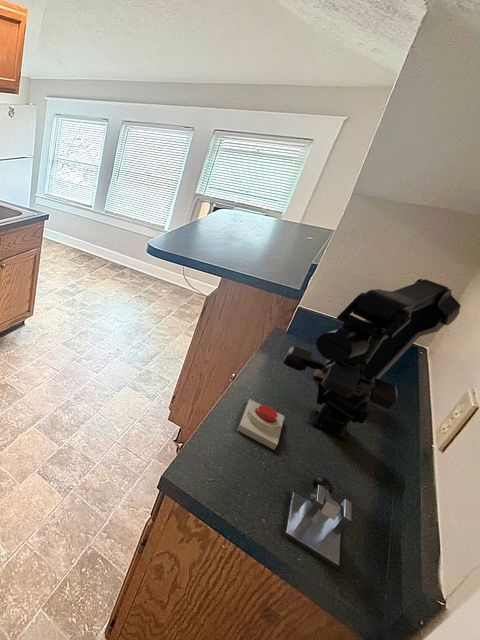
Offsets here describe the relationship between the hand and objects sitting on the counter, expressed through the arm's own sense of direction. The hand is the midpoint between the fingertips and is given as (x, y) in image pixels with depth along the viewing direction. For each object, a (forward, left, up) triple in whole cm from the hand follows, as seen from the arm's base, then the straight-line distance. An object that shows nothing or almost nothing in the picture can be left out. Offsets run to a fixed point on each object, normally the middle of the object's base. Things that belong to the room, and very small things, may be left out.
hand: (318, 403), depth 86 cm
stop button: (+1, -7, -9) cm, 12 cm away
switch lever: (+19, +5, -9) cm, 22 cm away
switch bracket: (+23, +5, -13) cm, 27 cm away
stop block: (+1, -7, -13) cm, 15 cm away
